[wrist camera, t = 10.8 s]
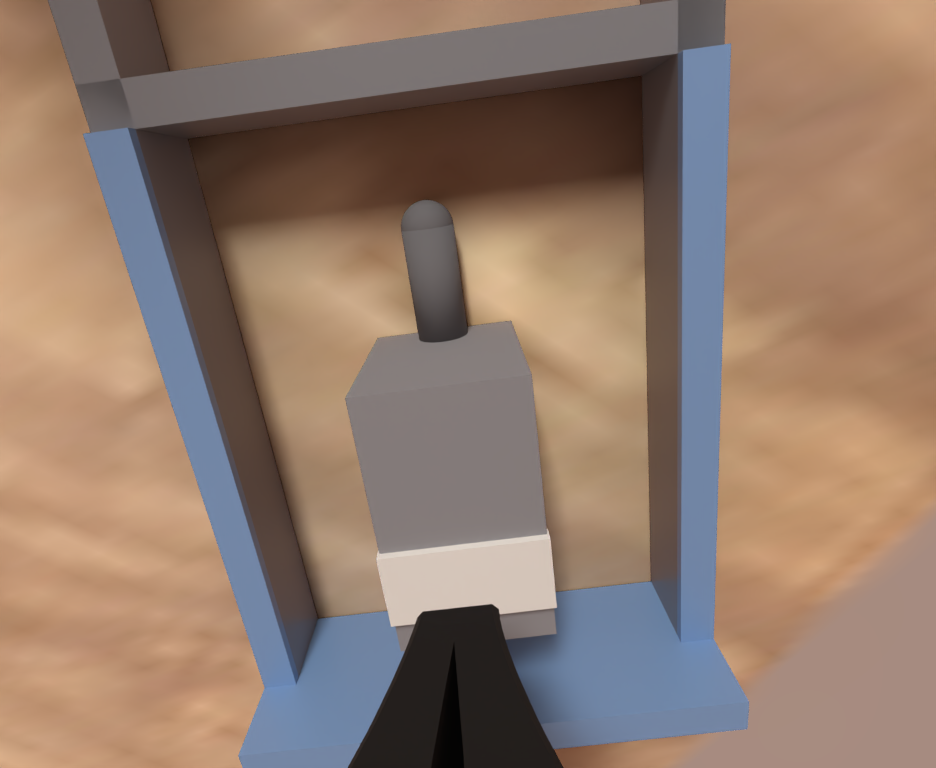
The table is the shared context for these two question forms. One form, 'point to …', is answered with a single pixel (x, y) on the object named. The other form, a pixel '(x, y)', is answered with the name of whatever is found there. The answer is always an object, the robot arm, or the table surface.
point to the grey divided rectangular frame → (236, 402)
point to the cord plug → (452, 453)
